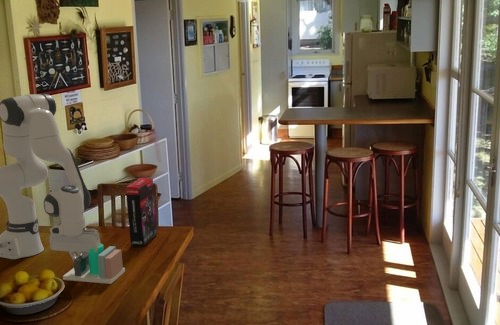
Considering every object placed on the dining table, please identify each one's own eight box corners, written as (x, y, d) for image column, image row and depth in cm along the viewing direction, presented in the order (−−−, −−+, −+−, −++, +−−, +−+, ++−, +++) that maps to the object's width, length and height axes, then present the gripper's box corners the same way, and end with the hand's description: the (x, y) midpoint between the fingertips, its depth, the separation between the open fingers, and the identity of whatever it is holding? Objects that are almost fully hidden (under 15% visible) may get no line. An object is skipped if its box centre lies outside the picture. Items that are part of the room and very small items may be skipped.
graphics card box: (144, 247, 260) (140, 187, 254) (129, 247, 262) (124, 186, 256) (157, 234, 277) (154, 177, 271) (143, 234, 278) (139, 177, 272)
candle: (103, 274, 229) (101, 244, 227) (88, 274, 229) (85, 245, 226) (107, 267, 235) (104, 239, 232) (91, 268, 235) (89, 239, 232)
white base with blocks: (63, 279, 229) (60, 253, 226) (79, 267, 240) (76, 242, 238) (111, 283, 224) (109, 257, 222) (125, 271, 235) (123, 246, 233)
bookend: (74, 275, 228) (73, 260, 227) (87, 265, 238) (86, 251, 236) (80, 276, 228) (79, 261, 226) (93, 266, 237) (92, 251, 236)
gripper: (102, 226, 230) (105, 260, 233) (54, 223, 235) (58, 256, 238) (94, 232, 224) (97, 266, 227) (45, 228, 229) (49, 262, 232)
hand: (76, 261), depth 232 cm, fingers closed
